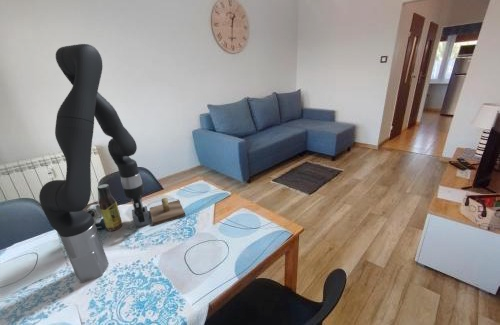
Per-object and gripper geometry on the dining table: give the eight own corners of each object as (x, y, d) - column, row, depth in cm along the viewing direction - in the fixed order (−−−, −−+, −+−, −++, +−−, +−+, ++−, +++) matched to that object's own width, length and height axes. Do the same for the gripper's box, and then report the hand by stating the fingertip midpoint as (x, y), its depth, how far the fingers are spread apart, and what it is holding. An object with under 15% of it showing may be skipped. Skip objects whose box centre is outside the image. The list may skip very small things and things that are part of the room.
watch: (88, 234, 97) (80, 212, 93) (97, 223, 105) (90, 202, 101) (102, 232, 98) (94, 210, 94) (110, 221, 105) (103, 200, 102)
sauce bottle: (117, 231, 98) (104, 189, 91) (103, 232, 98) (89, 190, 91) (125, 222, 104) (114, 182, 97) (112, 222, 105) (99, 183, 97)
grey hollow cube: (150, 223, 102) (147, 212, 100) (135, 228, 100) (132, 216, 98) (149, 217, 107) (146, 206, 105) (134, 221, 105) (131, 209, 103)
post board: (185, 215, 107) (182, 201, 104) (153, 225, 101) (149, 210, 98) (179, 202, 118) (176, 189, 116) (150, 210, 113) (146, 196, 110)
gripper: (143, 188, 92) (152, 222, 98) (140, 176, 104) (148, 206, 110) (122, 193, 89) (132, 228, 95) (122, 180, 101) (131, 211, 107)
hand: (141, 216), depth 103 cm, fingers open, 8 cm apart
